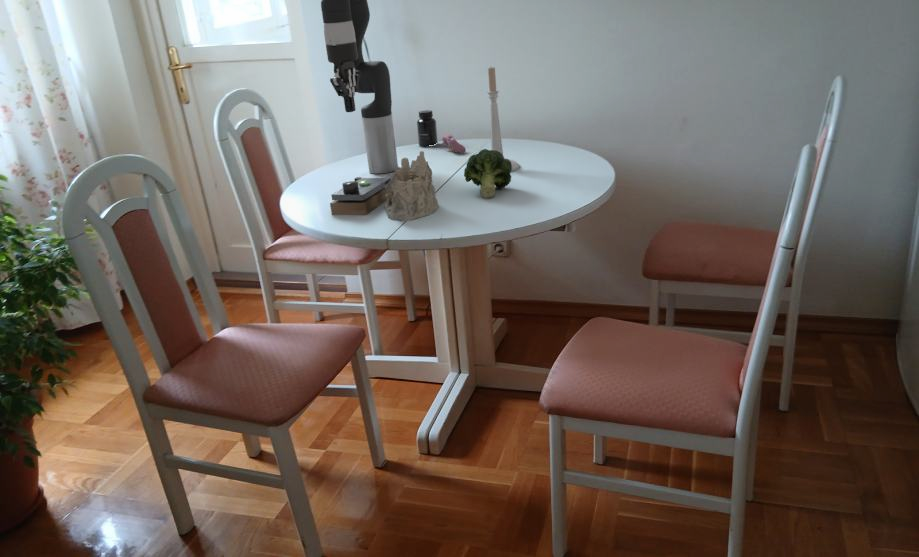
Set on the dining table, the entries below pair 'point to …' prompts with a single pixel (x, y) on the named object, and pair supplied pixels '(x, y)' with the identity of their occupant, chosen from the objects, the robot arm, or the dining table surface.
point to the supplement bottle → (426, 129)
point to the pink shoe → (452, 144)
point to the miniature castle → (411, 191)
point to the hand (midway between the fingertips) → (350, 111)
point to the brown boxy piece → (358, 204)
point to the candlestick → (496, 117)
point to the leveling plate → (360, 189)
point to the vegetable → (488, 171)
